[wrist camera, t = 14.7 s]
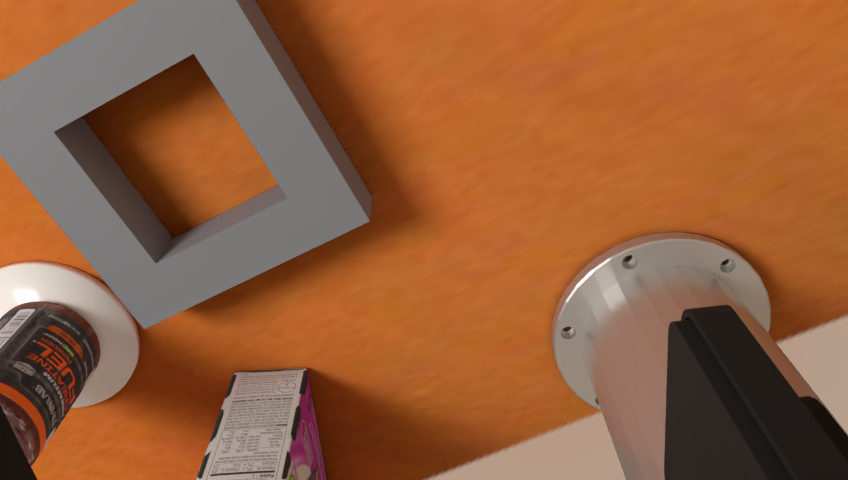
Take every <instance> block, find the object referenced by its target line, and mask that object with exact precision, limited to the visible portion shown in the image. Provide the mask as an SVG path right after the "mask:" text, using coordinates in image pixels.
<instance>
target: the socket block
mask: <svg viewBox="0 0 848 480" xmlns="http://www.w3.org/2000/svg"><path fill="white" fill-rule="evenodd" d="M192 54H194V55H195V57H196V58H197V60H198V61H199V63H200V64H201V66H202V67H203V69H204V70H205V72H206V74H207V75H208V77H209V78H210V80H211V81H212V83H213V84H214V86H215V87H216V89H217V90H218V92H219V93H220V95H221V97H222V98H223V100H224V101H225V103H226V104H227V106H228V107H229V109H230V110H231V112H232V113H233V115H234V116H235V118H236V120H237V121H238V123H239V124H240V126H241V127H242V129H243V130H244V132H245V133H246V135H247V136H248V138H249V140H250V141H251V143H252V144H253V146H254V147H255V149H256V150H257V152H258V153H259V155H260V156H261V158H262V159H263V161H264V163H265V164H266V166H267V167H268V169H269V170H270V172H271V173H272V175H273V176H274V178H275V179H276V181H277V182H278V184H279V185H277V186H275V187H273V188H272V189H270V190H268V191H266V192H264V193H262V194H260V195H258V196H256V197H254V198H252V199H250V200H248V201H246V202H244V203H242V204H240V205H238V206H236V207H234V208H232V209H230V210H228V211H226V212H224V213H222V214H220V215H218V216H216V217H214V218H212V219H210V220H208V221H206V222H204V223H202V224H200V225H198V226H196V227H194V228H192V229H190V230H188V231H186V232H184V233H182V234H180V235H178V236H176V237H174V238H173V237H172V236H171V235H170V233H169V232H168V231H167V229H166V228H165V227H164V225H163V224H162V223H161V221H160V220H159V219H158V217H157V216H156V215H155V213H154V212H153V211H152V209H151V208H150V207H149V205H148V204H147V203H146V201H145V200H144V199H143V197H142V196H141V195H140V193H139V192H138V191H137V189H136V188H135V187H134V185H133V184H132V183H131V181H130V180H129V179H128V177H127V176H126V175H125V173H124V172H123V171H122V169H121V168H120V167H119V165H118V164H117V163H116V161H115V160H114V159H113V157H112V156H111V155H110V153H109V152H108V151H107V149H106V148H105V147H104V145H103V144H102V143H101V141H100V140H99V139H98V137H97V136H96V135H95V133H94V132H93V131H92V129H91V128H90V127H89V125H88V124H87V123H86V121H85V120H84V119H83V117H82V116H83V115H85V114H87V113H88V112H90V111H92V110H94V109H96V108H97V107H99V106H101V105H103V104H105V103H106V102H108V101H110V100H112V99H113V98H115V97H117V96H119V95H121V94H122V93H124V92H126V91H128V90H130V89H131V88H133V87H135V86H137V85H138V84H140V83H142V82H144V81H146V80H147V79H149V78H151V77H153V76H155V75H156V74H158V73H160V72H162V71H163V70H165V69H167V68H169V67H171V66H172V65H174V64H176V63H178V62H180V61H181V60H183V59H185V58H187V57H188V56H190V55H192ZM0 155H1V156H2V157H3V159H4V160H5V161H6V162H7V163H8V165H9V166H10V167H11V168H12V170H13V171H14V172H15V173H16V174H17V176H18V177H19V178H20V179H21V180H22V182H23V183H24V184H25V185H26V187H27V188H28V189H29V190H30V191H31V193H32V194H33V195H34V196H35V197H36V199H37V200H38V201H39V202H40V204H41V205H42V206H43V207H44V208H45V210H46V211H47V212H48V213H49V214H50V216H51V217H52V218H53V219H54V221H55V222H56V223H57V224H58V225H59V227H60V228H61V229H62V230H63V231H64V233H65V234H66V235H67V236H68V238H69V239H70V240H71V241H72V242H73V244H74V245H75V246H76V247H77V248H78V250H79V251H80V252H81V253H82V255H83V256H84V257H85V258H86V259H87V261H88V262H89V263H90V264H91V265H92V267H93V268H94V269H95V270H96V272H97V273H98V274H99V275H100V276H101V278H102V279H103V280H104V281H105V282H106V284H107V285H108V286H109V287H110V289H111V290H112V291H113V292H114V293H115V295H116V296H117V297H118V298H119V299H120V301H121V302H122V303H123V304H124V306H125V307H126V308H127V309H128V310H129V312H130V313H131V314H132V315H133V316H134V318H135V319H136V320H137V321H138V323H139V324H140V325H141V326H142V327H143V329H146V328H148V327H150V326H152V325H155V324H157V323H159V322H161V321H163V320H165V319H167V318H169V317H171V316H173V315H175V314H178V313H180V312H182V311H184V310H186V309H188V308H190V307H192V306H194V305H196V304H198V303H200V302H203V301H205V300H207V299H209V298H211V297H213V296H215V295H217V294H219V293H221V292H223V291H225V290H228V289H230V288H232V287H234V286H236V285H238V284H240V283H242V282H244V281H246V280H248V279H251V278H253V277H255V276H257V275H259V274H261V273H263V272H265V271H267V270H269V269H271V268H273V267H276V266H278V265H280V264H282V263H284V262H286V261H288V260H290V259H292V258H294V257H296V256H299V255H301V254H303V253H305V252H307V251H309V250H311V249H313V248H315V247H317V246H319V245H321V244H324V243H326V242H328V241H330V240H332V239H334V238H336V237H338V236H340V235H342V234H344V233H347V232H349V231H351V230H353V229H355V228H357V227H359V226H361V225H363V224H365V223H367V222H369V221H370V216H371V208H372V200H373V197H372V196H371V194H370V192H369V191H368V189H367V187H366V186H365V184H364V182H363V181H362V179H361V177H360V176H359V174H358V172H357V170H356V169H355V167H354V165H353V164H352V162H351V160H350V159H349V157H348V155H347V154H346V152H345V150H344V149H343V147H342V145H341V144H340V142H339V140H338V138H337V137H336V135H335V133H334V132H333V130H332V128H331V127H330V125H329V123H328V122H327V120H326V118H325V117H324V115H323V113H322V112H321V110H320V108H319V107H318V105H317V103H316V101H315V100H314V98H313V96H312V95H311V93H310V91H309V90H308V88H307V86H306V85H305V83H304V81H303V80H302V78H301V76H300V75H299V73H298V71H297V69H296V68H295V66H294V64H293V63H292V61H291V59H290V58H289V56H288V54H287V53H286V51H285V49H284V48H283V46H282V44H281V43H280V41H279V39H278V37H277V36H276V34H275V32H274V31H273V29H272V27H271V26H270V24H269V22H268V21H267V19H266V17H265V16H264V14H263V12H262V11H261V9H260V7H259V5H258V4H257V2H256V0H139V1H137V2H135V3H134V4H132V5H130V6H128V7H127V8H125V9H123V10H122V11H120V12H118V13H116V14H115V15H113V16H111V17H110V18H108V19H106V20H105V21H103V22H101V23H99V24H98V25H96V26H94V27H93V28H91V29H89V30H88V31H86V32H84V33H82V34H81V35H79V36H77V37H76V38H74V39H72V40H71V41H69V42H67V43H65V44H64V45H62V46H60V47H59V48H57V49H55V50H53V51H52V52H50V53H48V54H47V55H45V56H43V57H42V58H40V59H38V60H36V61H35V62H33V63H31V64H30V65H28V66H26V67H25V68H23V69H21V70H19V71H18V72H16V73H14V74H13V75H11V76H9V77H8V78H6V79H4V80H2V81H1V82H0Z"/></svg>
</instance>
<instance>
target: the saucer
mask: <svg viewBox="0 0 848 480" xmlns="http://www.w3.org/2000/svg"><path fill="white" fill-rule="evenodd" d="M35 301H38V302H42V301H45V302H51V303H57V304H60V305H62V306H65V307H67V308H69V309H71V310H73V311H74V312H76V313H77V314H79V315H80V316H81V317H83V318H84V319H85V320H86V321H87V322H88V323H89V324H90V325H91V327H92V328H93V330H94V331H95V333H96V335H97V337H98V340H99V344H100V354H101V355H100V360H99V363H98V366H97V368H96V370H95V371H94V373H93V375H92V377H91V378H90V380H89V381H88V383H87V384H86V386H85V387H84V389H83V390H82V392H81V393H80V395H79V396H78V398H77V399H76V401H75V402H74V404H73V405H72V407H71V408H79V407H86V406H90V405H94V404H97V403H100V402H102V401H105V400H106V399H108V398H110V397H112V396H113V395H115V394H116V393H117V392H119V391H120V390H121V389H122V388H123V387H124V386H125V385H126V383H127V382H128V380H129V379H130V377H131V376H132V374H133V372H134V370H135V368H136V366H137V363H138V360H139V356H140V336H139V332H138V328H137V325H136V323H135V320H134V318H133V316H132V315H131V313H130V312H129V310H128V309H127V308H126V307H125V306H124V304H123V303H122V302H121V301H120V299H119V298H118V297H117V296H116V295H115V293H114V292H113V291H112V290H111V289H110V288H109V287H107V286H106V285H105V284H104V283H102V282H101V281H99V280H98V279H96V278H95V277H93V276H91V275H89V274H87V273H85V272H83V271H81V270H78V269H76V268H74V267H70V266H67V265H64V264H60V263H55V262H49V261H22V262H15V263H12V264H8V265H5V266H2V267H0V318H1V317H2V316H3V315H4V314H5V313H7V312H8V311H9V310H11V309H12V308H14V307H16V306H18V305H20V304H23V303H28V302H35Z"/></svg>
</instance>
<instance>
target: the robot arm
mask: <svg viewBox="0 0 848 480" xmlns="http://www.w3.org/2000/svg"><path fill="white" fill-rule="evenodd" d="M626 256H629V257H627V258H625V257H626ZM770 326H771V306H770V301H769V296H768V292H767V290H766V288H765V286H764V284H763V282H762V280H761V278H760V276H759V275H758V273H757V272H756V271H755V270H754V269H753V267H752V266H751V265H750V264H749V262H748V261H746V260H745V259H744V258H743V257H742V256H741V255H740V254H739V253H738V252H737V251H736V250H734V249H732V248H731V247H729V246H727V245H725V244H724V243H722V242H720V241H718V240H715V239H712V238H709V237H706V236H703V235H699V234H691V233H683V232H670V233H656V234H651V235H647V236H642V237H637V238H634V239H632V240H629V241H627V242H624V243H622V244H619V245H616V246H615V247H613V248H611V249H609V250H608V251H606V252H604V253H603V254H601V255H599V256H598V257H596V258H595V259H594V260H593V261H591V262H590V263H589V264H588V265H587V266H585V267H584V268H583V269H582V270H581V271H580V272H579V273H578V274H577V276H576V277H575V278H574V279H573V280H572V282H571V283H570V284H569V285H568V286H567V288H566V290H565V292H564V294H563V295H562V297H561V299H560V301H559V302H558V305H557V309H556V312H555V315H554V318H553V324H552V334H551V338H552V346H553V353H554V356H555V359H556V362H557V366H558V369H559V371H560V373H561V375H562V376H563V378H564V380H565V382H566V384H567V385H568V386H569V387H570V388H571V389H572V391H573V392H574V393H575V394H576V395H577V396H578V397H580V398H581V399H582V400H584V401H585V402H586V403H588V404H589V405H590V406H592V407H595V408H597V409H599V410H601V411H602V413H603V416H604V418H605V421H606V423H607V427H608V430H609V432H610V435H611V438H612V441H613V444H614V447H615V449H616V452H617V455H618V458H619V461H620V463H621V466H622V469H623V472H624V475H625V477H626V480H848V434H847V433H846V432H845V431H844V429H843V428H842V427H841V426H840V424H839V423H838V422H837V420H836V419H835V418H834V417H833V415H832V414H831V413H830V411H829V410H828V409H827V408H826V406H825V405H824V404H823V403H822V401H821V400H820V399H819V397H818V396H817V395H816V394H815V392H814V391H813V390H812V389H811V387H810V386H809V385H808V383H807V382H806V381H805V380H804V379H803V377H802V376H801V375H800V373H799V372H798V371H797V370H796V368H795V367H794V366H793V364H792V363H791V362H790V361H789V359H788V358H787V357H786V355H785V354H784V353H783V352H782V350H781V349H780V348H779V347H778V345H777V344H776V343H775V341H774V340H773V339H772V338H771V336H770V335H769V330H770ZM0 480H37V478H36V476H35V474H34V472H33V470H32V468H31V466H30V464H29V462H28V460H27V458H26V456H25V454H24V452H23V450H22V448H21V446H20V444H19V442H18V440H17V438H16V436H15V434H14V431H13V429H12V427H11V425H10V423H9V421H8V419H7V417H6V415H5V413H4V411H3V409H2V407H1V405H0Z"/></svg>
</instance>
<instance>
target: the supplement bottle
mask: <svg viewBox="0 0 848 480" xmlns="http://www.w3.org/2000/svg"><path fill="white" fill-rule="evenodd" d="M100 355H101V354H100V344H99V340H98V337H97V335H96V333H95V331H94V330H93V328H92V327H91V325H90V324H89V323H88V322H87V321H86V320H85V319H84V318H83V317H81V316H80V315H79V314H77V313H76V312H74V311H73V310H71V309H69V308H67V307H65V306H62V305H60V304H57V303H51V302H45V301H42V302H38V301H35V302H28V303H23V304H20V305H18V306H16V307H14V308H12V309H11V310H9V311H8V312H7V313H5V314H4V315H3V316H2V317H1V318H0V405H1V407H2V409H3V411H4V413H5V415H6V417H7V419H8V421H9V423H10V425H11V427H12V429H13V431H14V434H15V436H16V438H17V440H18V442H19V444H20V446H21V448H22V450H23V452H24V454H25V456H26V458H27V460H28V462H29V464H30V466H32V465H33V463H34V462H35V461H36V459H37V458H38V456H39V455H40V453H41V452H42V450H43V449H44V447H45V446H46V444H47V443H48V441H49V440H50V438H51V437H52V435H53V434H54V432H55V431H56V430H57V428H58V426H59V425H60V424H61V422H62V420H63V419H64V418H65V416H66V414H67V413H68V411H69V410H70V409H71V407H72V405H73V404H74V402H75V401H76V399H77V398H78V396H79V395H80V393H81V392H82V390H83V389H84V387H85V386H86V384H87V383H88V381H89V380H90V378H91V377H92V375H93V373H94V371H95V370H96V368H97V366H98V363H99V360H100Z"/></svg>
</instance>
